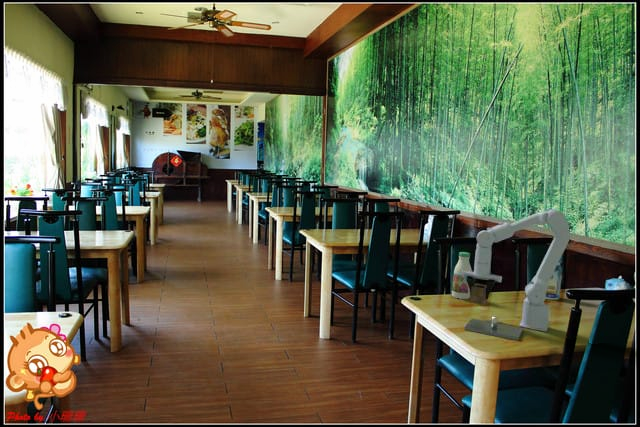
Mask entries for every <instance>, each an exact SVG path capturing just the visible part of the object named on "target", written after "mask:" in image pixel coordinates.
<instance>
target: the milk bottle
mask: <svg viewBox="0 0 640 427" xmlns="http://www.w3.org/2000/svg"><path fill="white" fill-rule="evenodd" d="M470 257H471V253H470V252H467V251H460V252H458V261H457V263H456V265H455V267H454V270H453V279H452V286H451V287H452V288H451V297H452V296H453V297H452V298H454V299H457V298H459V299H458V300H469V299H471V297H470V290H469V286H468V283H467V281H466V279H467V277H465V276H464V277H463V276H461V274H462V271H471V272H473V270H472V267H471V264H470Z"/></svg>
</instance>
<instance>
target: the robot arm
mask: <svg viewBox="0 0 640 427" xmlns="http://www.w3.org/2000/svg"><path fill="white" fill-rule="evenodd" d="M536 225H537V226H539V225H540V226H548V227H549V229H550V231H551V233H552V234H553V239H552V241H551V244H550V245H549V247H548V249H547V252H546V254H545V255H544V257H543V259H542V261H541V264H540V265H539V268H538V270H537V271H536V275H534V277H533V278H532V279H531V281H530V282H529V283H528V284H527V285H525V288H524V294H525V296H526V297H525V298H524V299H523V303H522V304H523V305H522V312H521V313H522V316H521V320H520V323H519V325H518V327H519V328H526V329H531V330H537V331H542V332H547V331H548V328H549V326H550V321H551V320H550V316H551V315H550V314H551V305H548V304H546V303H545V300H546V290H547V288H548V283H549V280H550V278H551V276H552V274H553V272H554V270H555V268H556V266H557V264H558V262H559V260H560V258H561V256H562V257H563V254H564V251H565V250H566V248H567V246H568V244H569V241H570V240H571V233H570V227H569V220H568V219H567V216H566V215H565V214H564V212H562V211H560V210H559V209H556V208H549V209H547V210H541V211H538V212H536V213H534V214H531V215H529V216H526V217H523V218H522V219H520V220H517V221H514V222H513V223H509V222H507V221H506V222H503V221H501V222H499V223H498V224H497V225H495V226H492V227H487V228H486V230H481V231H479V232H478V233H477V235H476V238H475V239H476V242H477V243H476V249H475V252H474V253H475V256H474V267H473V268H474V269H473V271H472V272H471V271H462V274H461V276H463V277H464V276H465V277H467V279H466V281H467V283H468V286H469V290H470V298H471V289H472V286H473V285H475V281H476V279H479V280H487V281H486V285H487V291H486V299H487V301H488V300H489V298H490V294H491V291H492V289H493V287H494V285H495V283H496V282H497V283H502V281H503V280H502V279H503V276H501V275H497V274H492V273H491V264H492V263H491V262H492V253H493V252H492V246H493V243H499V242H501V241H503V240H507V239H509V238H511V237H513V236H514V234H515V232H517V231H520V230H523V229H527V228H530V227H532V226H536Z"/></svg>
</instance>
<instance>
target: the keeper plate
mask: <svg viewBox="0 0 640 427" xmlns="http://www.w3.org/2000/svg"><path fill="white" fill-rule="evenodd" d="M498 322H499V316H495V315H493V316H491V321H488V320H482V319H478V318H471V319H470V320H469V321H468V322H467V323H466V324H465V326H464V331H468V332H473V333H477V334H478V333H479V334H484V335H488V336H494V337H498V338H503V339H508V340H513V341H517V342H518V341H520V338H521V336H522V334H523V331H524V327H520V326H514V325H513V326H512V325H507V324H502V323H498Z"/></svg>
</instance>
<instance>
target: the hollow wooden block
mask: <svg viewBox="0 0 640 427" xmlns="http://www.w3.org/2000/svg"><path fill="white" fill-rule="evenodd" d="M486 291H487V284H486V285H485V284H480V283H474V285H473V286H472V289H471V297H470V302H469V303H471V304H475V305H476V304H477V305H482V306H484V305H485V304H486V303H487V302H488V300H487V299H486Z"/></svg>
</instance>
